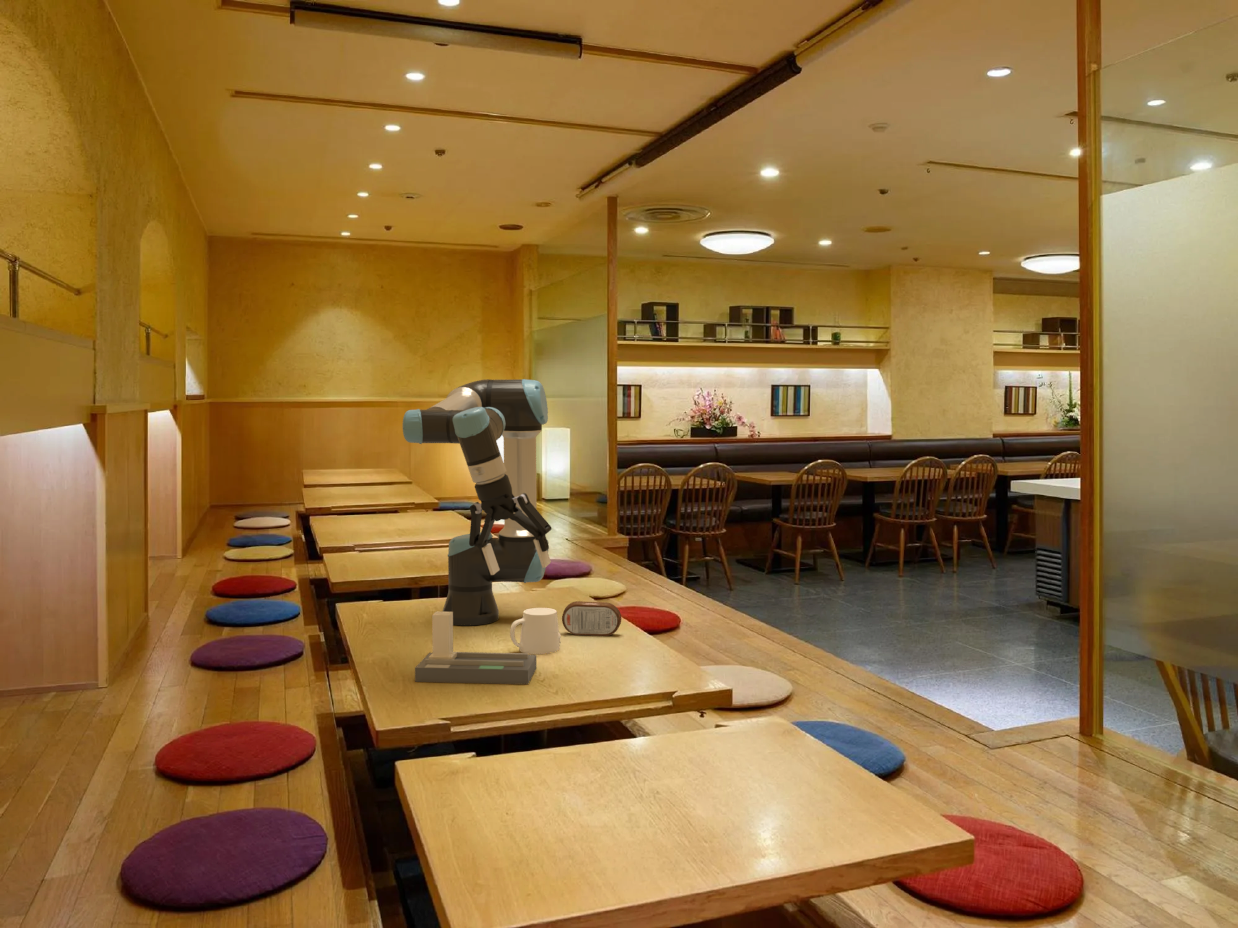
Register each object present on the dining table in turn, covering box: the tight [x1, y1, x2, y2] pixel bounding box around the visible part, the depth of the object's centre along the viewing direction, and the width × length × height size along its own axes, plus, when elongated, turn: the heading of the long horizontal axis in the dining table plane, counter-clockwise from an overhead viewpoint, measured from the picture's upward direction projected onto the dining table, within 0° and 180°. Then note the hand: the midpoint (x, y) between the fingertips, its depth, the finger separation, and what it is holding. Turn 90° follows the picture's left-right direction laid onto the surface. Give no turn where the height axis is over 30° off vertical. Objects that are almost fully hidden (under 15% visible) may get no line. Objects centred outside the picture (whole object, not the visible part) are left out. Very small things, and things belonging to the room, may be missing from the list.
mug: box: [509, 607, 562, 655], centre depth 225 cm, size 12×9×8 cm
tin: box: [561, 600, 622, 637], centre depth 241 cm, size 15×3×8 cm, turn 84°
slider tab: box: [429, 610, 458, 659], centre depth 205 cm, size 4×5×10 cm
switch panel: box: [414, 651, 537, 685], centre depth 205 cm, size 12×24×4 cm, turn 87°
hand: (520, 568), depth 209 cm, fingers open, 13 cm apart
